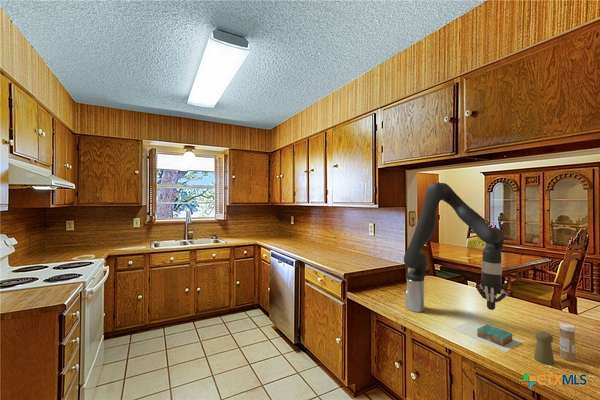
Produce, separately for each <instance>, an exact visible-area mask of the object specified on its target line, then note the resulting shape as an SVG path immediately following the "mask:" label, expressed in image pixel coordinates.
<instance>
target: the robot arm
mask: <svg viewBox="0 0 600 400" xmlns="http://www.w3.org/2000/svg"><path fill="white" fill-rule="evenodd" d="M441 201H443V202H444V203H446V204H448V205H449V206H451V208H452V209H453V210H454V212H455V213H456V215H457V216H458V218H459V219H460V220H461V221H462V222H463V223H464V224H466V225H467V226H468V227H469V228H470V229H471V230H472V231H473V232H474V233H475V235H476V236H477V237H478V238H479V239H480V240H481V241H482V242H484V243H485V247H484V248H483V250H482V258H481V259H482V260H481V282H480V284H477V285H475V288H476V290H477V292H478V294H479V295H480V296H481V298H482V299H484V300H486V308H487V309H488V310H490V311H493V310H494V309H496V303H499V302H501V301H502V300H504V299H505V298H506V297H507V296H509V293H508V292H506V291H505V290H504V288H503V286H502V283H503V267H502V251H503V246H504V240H505V235H504V232H503V231H502V229H500V228H498V227H491V226H490V225H489V224H488V223H487V222H486V220H485V218H484V217H483V216H481V215H480V214H479V213H478V212H476V211H475V210H474V209H473V208H471V207H470V206H469V205H468V204H467V203H466V202H465V201H464V200H463V199H462V198H461V197H460V196H459V195H458V194H457V193H456V192H455V191H454V190H453V189H452V187H451V186H450V185H449V184H447V183H444V182H434V183H431V184H430V185H429V186H428V187H427V189H426V193H425V196H424V202H423V204H422V205H423V206H422V209H421V211H420V215H419V218H418V220H417V223H416V225H415V229H414V231H413V234H412V238H411V241H410V242H409V244H408V247H407V249H406V251H405V253H404V256H403V263H404V266H405V267H406V268H408V269H410V271H408V272H407V274H406V291H405V294H404V295H405V304H404V305H405V308H406V309H407V310H409V311H411V312H416V313H422V312H425V277H426V274H427V273H426V272H427V258H426V256H425V253H423V252H422V249H423V248H424V246H425V245H426V244H427V243H428V242H429V241H430V239H431V238H432V236H433V235H434V232H435V230H436V227H437V214H436V213H437V209H438V206H439V204H440V202H441ZM499 294H500V295H499ZM498 295H499V296H498Z"/></svg>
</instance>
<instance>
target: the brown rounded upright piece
mask: <svg viewBox="0 0 600 400" xmlns="http://www.w3.org/2000/svg"><path fill="white" fill-rule="evenodd" d="M534 335H535V339H536V344H535V349H534V354H533V355H534V356H533V359H534V361H536V362H538V363H540V364H543V365H545V366H554V365H555V364H556V363H555V358H554V353H553V347H552V343H553V342H554V338H553V336H552V334H551V333H548V332H546V331H544V330H543V331H541V330H537V331H536V332H535V333H534Z"/></svg>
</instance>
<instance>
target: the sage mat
mask: <svg viewBox="0 0 600 400" xmlns="http://www.w3.org/2000/svg"><path fill="white" fill-rule="evenodd" d="M480 327H482V325H480V324H477V323H474V322H471V321H467V322H464V323H462V324H460V325H457V326H455V327H452V328H451V330H452V331H455V332H457V333H459V334H462V335H464V336H467V337H469V338H471V339H473V340H476V341H478V342H481V343H483V344H484V345H485V344H486V345H488V346H490V347H492V348H495V349H498V350H500V351H502V352H504V353H507V352H509V351H510V350H512V349H514V348H516V347H517V346H519V345H520V344H522V343H524V341H523V340H520V339H517V338H514V337H512V342H510V343H508V344H506V345H504V346H503V347H502V346H500V345H497V344H495V343H492V342H490V341H488V340H485V339H483V338H480V337H478V336H477V329H478V328H480Z"/></svg>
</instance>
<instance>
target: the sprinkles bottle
mask: <svg viewBox="0 0 600 400" xmlns="http://www.w3.org/2000/svg"><path fill="white" fill-rule="evenodd" d="M558 324H559V325H558V327H559V356H560V358H562V359H563V360H565V361H567V362H568V361H570V362H575V361H576V336H575V335H576V325H573V324H571V323H569V322H568V323H567V322H559V323H558Z"/></svg>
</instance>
